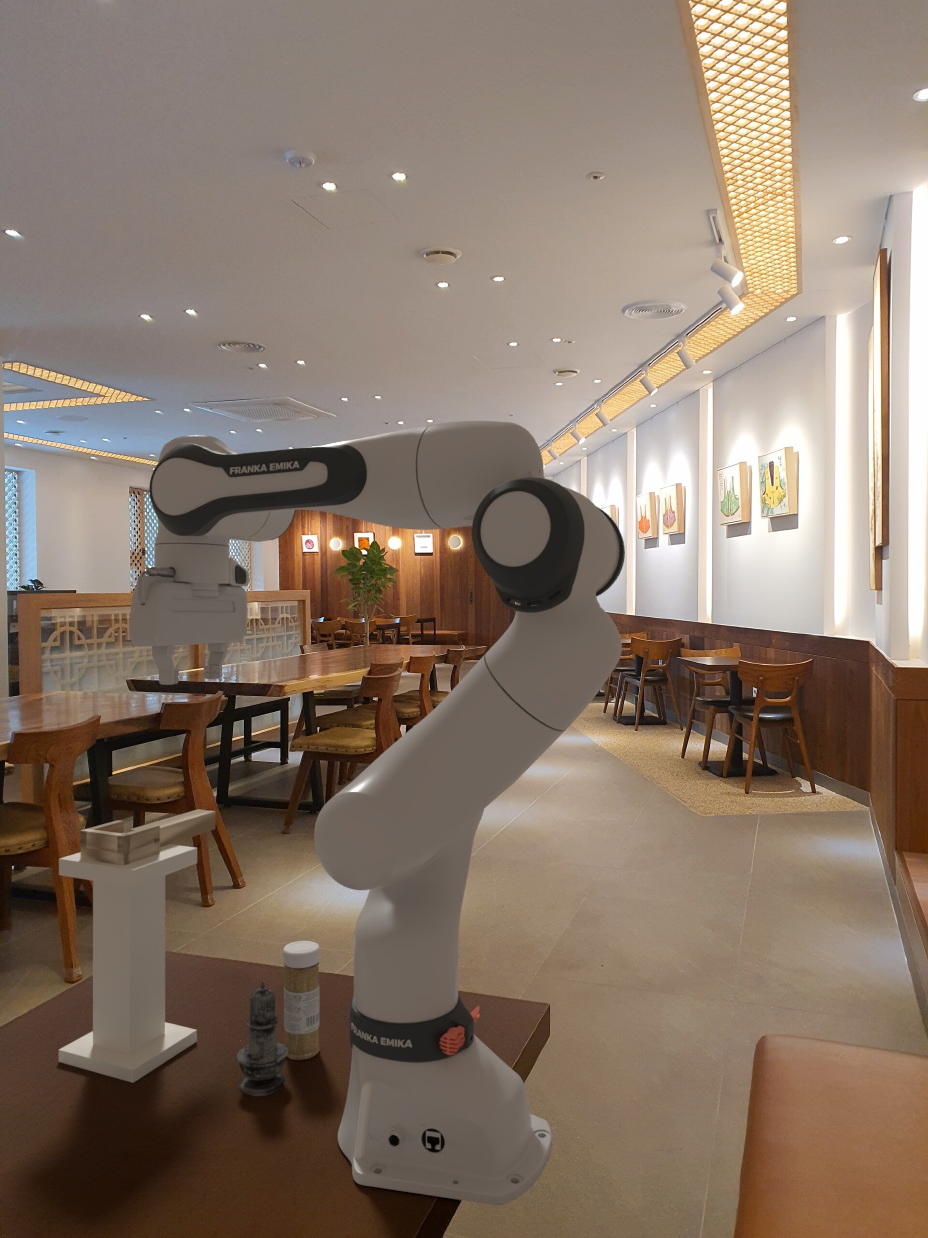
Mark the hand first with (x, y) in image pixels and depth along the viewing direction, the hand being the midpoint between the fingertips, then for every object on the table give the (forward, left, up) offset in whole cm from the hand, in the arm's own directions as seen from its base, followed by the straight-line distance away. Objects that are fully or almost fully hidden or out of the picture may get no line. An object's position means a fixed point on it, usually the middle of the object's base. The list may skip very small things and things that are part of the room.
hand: (191, 681), depth 108 cm
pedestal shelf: (+8, +2, -47) cm, 48 cm away
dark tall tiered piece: (-12, +1, -47) cm, 48 cm away
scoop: (+8, -3, -22) cm, 24 cm away
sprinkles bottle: (-12, -7, -47) cm, 49 cm away
